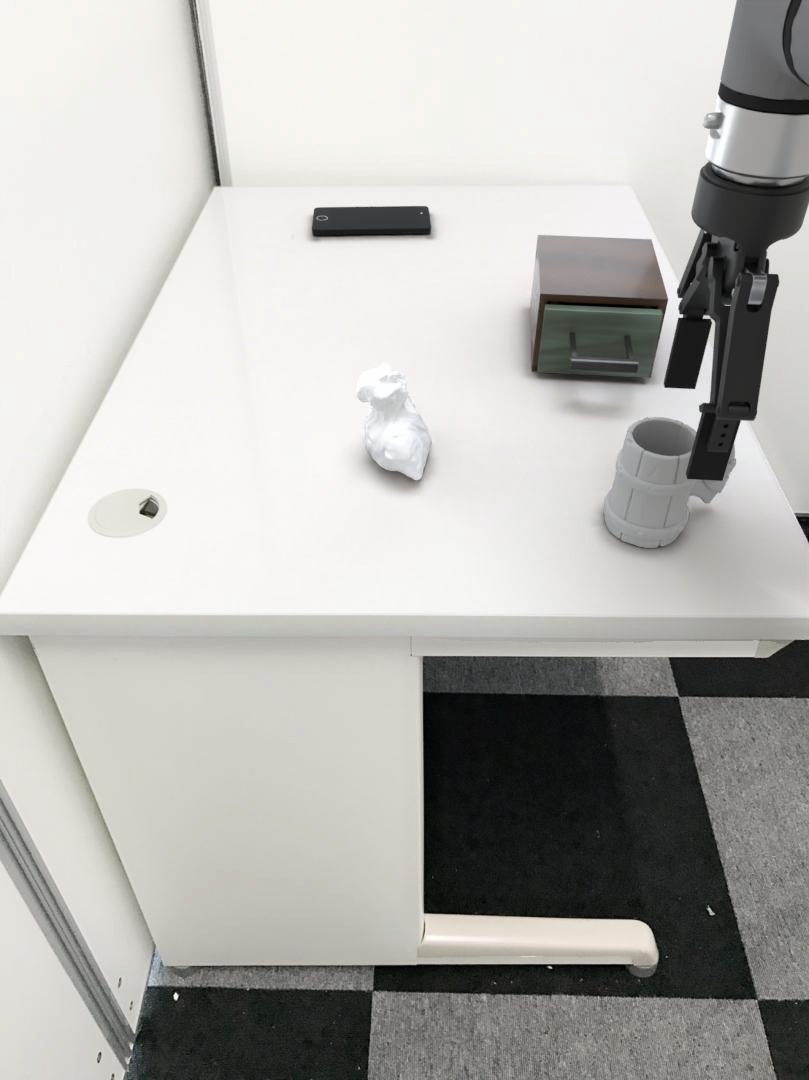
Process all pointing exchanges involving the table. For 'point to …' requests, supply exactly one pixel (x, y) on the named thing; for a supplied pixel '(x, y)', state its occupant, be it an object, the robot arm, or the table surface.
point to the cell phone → (371, 220)
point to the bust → (393, 423)
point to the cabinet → (593, 277)
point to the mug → (656, 483)
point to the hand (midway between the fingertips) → (690, 428)
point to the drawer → (598, 339)
